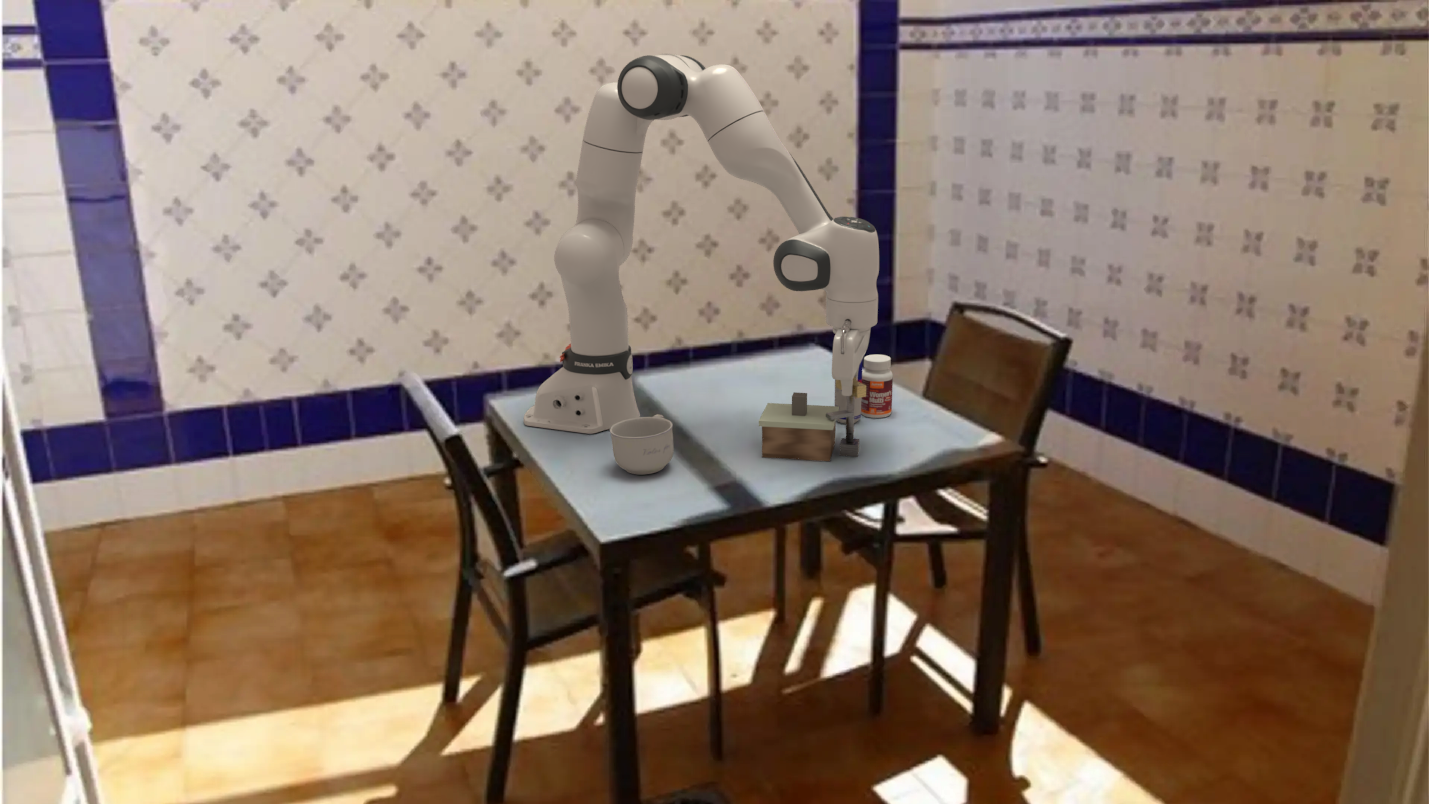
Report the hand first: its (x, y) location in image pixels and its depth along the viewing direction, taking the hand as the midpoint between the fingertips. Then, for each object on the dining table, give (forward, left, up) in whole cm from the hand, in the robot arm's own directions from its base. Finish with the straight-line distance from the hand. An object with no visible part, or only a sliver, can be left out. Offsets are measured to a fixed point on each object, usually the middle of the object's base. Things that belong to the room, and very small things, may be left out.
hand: (849, 389), depth 208 cm
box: (-9, 0, -12) cm, 15 cm away
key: (-1, -1, -10) cm, 10 cm away
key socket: (0, 0, -12) cm, 12 cm away
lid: (-9, 0, -6) cm, 10 cm away
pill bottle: (+3, +22, -12) cm, 25 cm away
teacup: (-34, -12, -12) cm, 38 cm away
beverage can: (-2, +17, -12) cm, 21 cm away
